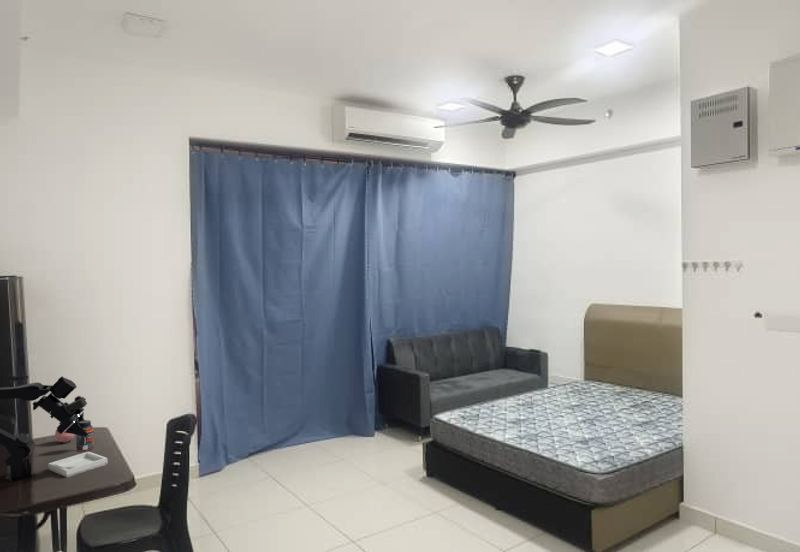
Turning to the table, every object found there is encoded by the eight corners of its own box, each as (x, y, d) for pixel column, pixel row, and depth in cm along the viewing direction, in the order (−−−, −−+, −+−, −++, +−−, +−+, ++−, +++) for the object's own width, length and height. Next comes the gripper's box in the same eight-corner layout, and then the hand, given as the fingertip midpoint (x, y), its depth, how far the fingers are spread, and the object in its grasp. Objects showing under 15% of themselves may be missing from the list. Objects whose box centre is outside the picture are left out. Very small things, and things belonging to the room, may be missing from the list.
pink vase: (76, 438, 248) (74, 412, 248) (74, 442, 242) (73, 416, 241) (56, 441, 245) (54, 414, 245) (54, 446, 238) (52, 419, 238)
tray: (67, 477, 201) (66, 470, 201) (48, 469, 210) (48, 463, 210) (107, 464, 214) (107, 458, 214) (88, 457, 222) (88, 451, 222)
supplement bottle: (89, 452, 207) (89, 423, 207) (73, 453, 207) (72, 424, 207) (96, 447, 213) (96, 419, 213) (80, 448, 213) (80, 419, 213)
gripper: (66, 397, 200) (100, 423, 203) (77, 386, 217) (109, 411, 221) (41, 420, 197) (77, 446, 201) (55, 407, 215) (87, 432, 219)
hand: (88, 433), depth 210 cm, fingers closed on supplement bottle, 6 cm apart
